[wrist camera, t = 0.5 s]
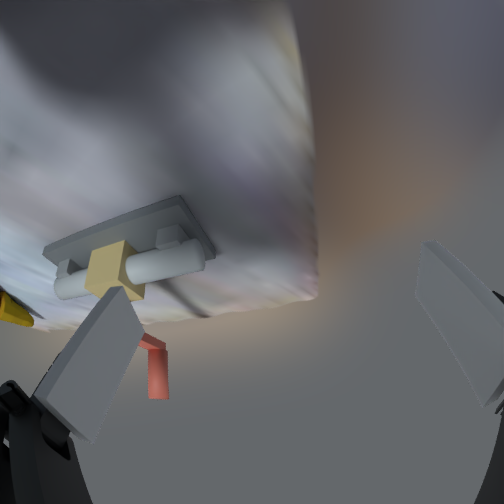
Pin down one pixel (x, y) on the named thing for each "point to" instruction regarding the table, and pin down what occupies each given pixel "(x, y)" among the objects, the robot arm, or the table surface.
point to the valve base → (130, 232)
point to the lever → (156, 367)
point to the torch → (14, 312)
